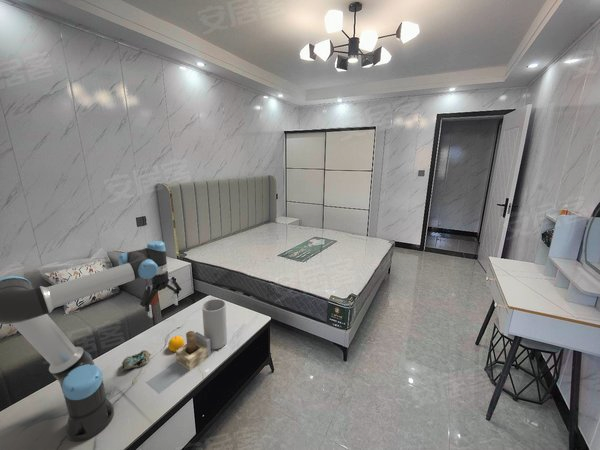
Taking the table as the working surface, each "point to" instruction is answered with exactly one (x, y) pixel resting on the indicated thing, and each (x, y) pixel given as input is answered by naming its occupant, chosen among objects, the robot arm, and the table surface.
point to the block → (192, 359)
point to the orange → (175, 343)
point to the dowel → (191, 342)
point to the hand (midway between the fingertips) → (163, 310)
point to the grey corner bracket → (175, 369)
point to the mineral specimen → (136, 360)
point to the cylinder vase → (215, 322)
